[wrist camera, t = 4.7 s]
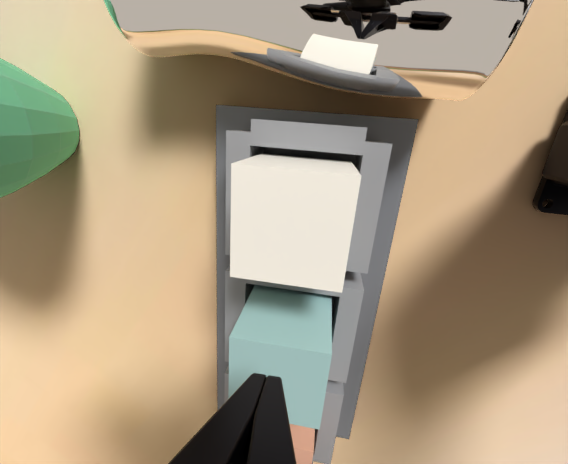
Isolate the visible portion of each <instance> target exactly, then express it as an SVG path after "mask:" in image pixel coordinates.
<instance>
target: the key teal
mask: <svg viewBox="0 0 568 464" xmlns="http://www.w3.org/2000/svg"><path fill="white" fill-rule="evenodd" d="M331 357H332V296H330V295H324V294H317V293H310V292H303V291H296V290H289V289H282V288H275V287H269V286H262V285H255V286H254V288H253V290H252V292H251V294H250V296H249V298H248V300H247V302H246V304H245V306H244V308H243V310H242V312H241V314H240V316H239V318H238V320H237V322H236V324H235V326H234V328H233V330H232V332H231V334H230V336H229V391H228V399H229V398H230V397H231V396H232V395H233V394H234V392H235V391H236V390H237V389H238V388H239V387H240V386H241V385H242V384H243V383H244V382H245V381H246V380H247V378H248V377H249V376H250V375H251V374H253V373H259V374H265V375H266V376H268V375H271V376H278V377H281V379H282V384H283V390H284V395H285V401H286V407H287V412H288V418H289V424H294V425H299V426H303V427H308V428H313V429H318V430H320V424H321V418H322V412H323V406H324V400H325V394H326V388H327V382H328V376H329V370H330V364H331Z"/></svg>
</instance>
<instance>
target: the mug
mask: <svg viewBox="0 0 568 464" xmlns="http://www.w3.org/2000/svg"><path fill="white" fill-rule="evenodd" d="M78 143H79V126H78V122H77V118H76V116H75V114H74V112H73V110H72V108H71V106H70V105H69V103H68V102H67V101H66V100H65V99H64V97H63V96H62V95H60V94H59V93H57V92H56V91H55V90H53V89H52V88H50V87H49V86H47V85H45V84H44V83H42V82H40V81H39V80H37V79H36V78H34V77H32V76H31V75H29V74H27V73H26V72H24V71H23V70H21V69H19V68H18V67H16V66H14V65H12V64H10V63H8V62H6V61H5V60H3V59H1V58H0V198H1V197H3V196H6V195H8V194H10V193H13V192H15V191H17V190H19V189H20V188H22V187H24V186H26V185H28V184H29V183H31V182H33V181H35V180H37V179H38V178H40V177H42V176H44V175H46V174H47V173H48V172H50V171H51V170H53V169H54V168H55V167H57V166H58V165H60V164H61V163H62V162H64V161H65V160H67V159H68V158H69V157H70V156H71V155H72V154H73V153H74V152H75V151H76V148H77V145H78Z"/></svg>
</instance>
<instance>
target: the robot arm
mask: <svg viewBox="0 0 568 464" xmlns="http://www.w3.org/2000/svg"><path fill="white" fill-rule="evenodd" d="M542 174H543V176H542V179H541V182H540V184H539V187H538V190H537V192H536V195H535V197H534V200H533V207H534V208H535V209H536V210H538V211H541V212H544V213H554V214H564V215H568V110H567V113H566V115H565V118H564V121H563V123H562V125H561V126H560V127H559V129H558V132H557V135H556V137H555V140H554V143H553V145H552V148H551V151H550V153H549V156H548V159H547V161H546V164H545V167H544V169H543V172H542ZM547 199H548V203H547V205H545V206H543V202H544V201H545V200H547ZM168 464H297V463H296V458H295V452H294V446H293V441H292V435H291V429H290V424H289V418H288V412H287V407H286V401H285V395H284V390H283V384H282V379H281V377H278V376H271V375H268V376H266V375H265V374H259V373H253V374H251V375H250V376H249V377H248V378H247V380H246V381H245V382H244V383H243V384H242V385H241V386H240V387H239V388H238V389H237V390H236V391H235V392H234V394H233V395H232V396H231V397H230V398H229V399H228V400H227V401H226V402H225V403H224V404H223V405H222V406H221V407H220V409H219V410H218V411H217V412H216V413H215V414H214V415H213V416H212V417H211V418H210V419H209V420H208V421H207V423H206V424H205V425H204V426H203V427H202V428H201V429H200V430H199V431H198V432H197V433H196V434H195V435H194V436H193V438H192V439H191V440H190V441H189V442H188V443H187V444H186V445H185V446H184V447H183V448H182V449H181V450H180V452H179V453H178V454H177V455H176V456H175V457H174V458H173V459H172V460H171V461H170V462H169V463H168Z"/></svg>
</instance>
